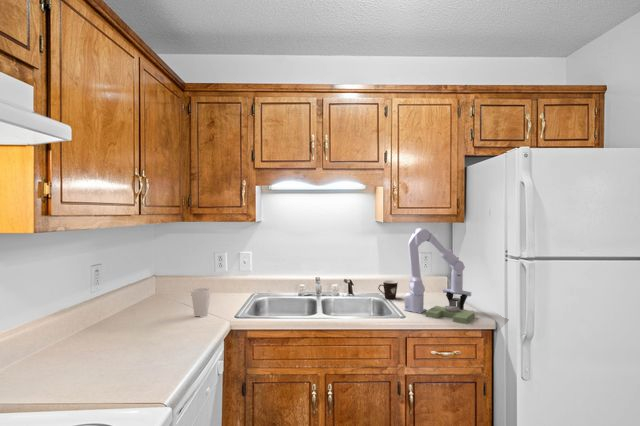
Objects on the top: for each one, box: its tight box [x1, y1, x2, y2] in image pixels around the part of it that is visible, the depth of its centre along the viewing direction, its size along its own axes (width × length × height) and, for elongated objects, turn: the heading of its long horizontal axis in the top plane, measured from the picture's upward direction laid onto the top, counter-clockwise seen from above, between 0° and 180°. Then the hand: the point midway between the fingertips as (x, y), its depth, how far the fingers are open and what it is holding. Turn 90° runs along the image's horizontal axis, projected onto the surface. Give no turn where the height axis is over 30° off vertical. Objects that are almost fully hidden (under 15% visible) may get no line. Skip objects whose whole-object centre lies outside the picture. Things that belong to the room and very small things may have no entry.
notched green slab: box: [425, 305, 475, 325], centre depth 198 cm, size 20×14×4 cm
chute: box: [448, 297, 465, 311], centre depth 209 cm, size 5×8×6 cm, turn 142°
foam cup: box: [190, 287, 211, 317], centre depth 198 cm, size 10×9×13 cm
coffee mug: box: [378, 279, 399, 301], centre depth 236 cm, size 12×9×10 cm
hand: (456, 307), depth 209 cm, fingers closed on chute, 5 cm apart
